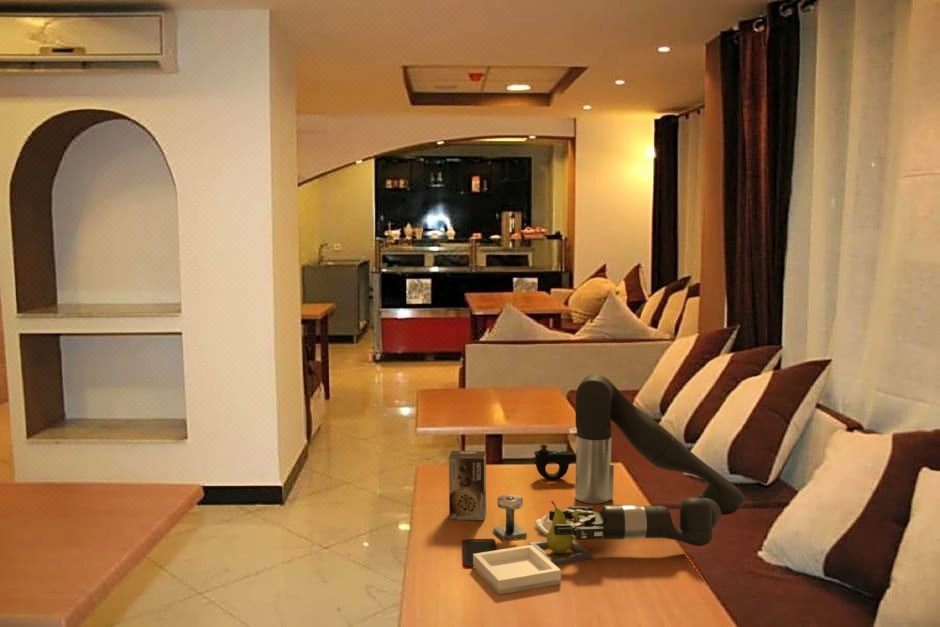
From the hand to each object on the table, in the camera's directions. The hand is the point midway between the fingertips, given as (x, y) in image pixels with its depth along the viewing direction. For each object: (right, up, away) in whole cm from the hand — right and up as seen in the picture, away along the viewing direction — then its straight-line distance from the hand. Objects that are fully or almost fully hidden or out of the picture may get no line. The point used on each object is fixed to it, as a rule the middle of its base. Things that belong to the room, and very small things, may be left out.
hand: (551, 522), depth 187 cm
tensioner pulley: (-9, -6, +12) cm, 16 cm away
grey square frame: (+2, -7, +1) cm, 7 cm away
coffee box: (-19, -4, +24) cm, 31 cm away
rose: (+2, -6, +15) cm, 16 cm away
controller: (+6, -1, +53) cm, 53 cm away
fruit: (+2, -7, +1) cm, 8 cm away
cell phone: (-16, -8, 0) cm, 18 cm away
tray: (-9, -8, -11) cm, 16 cm away
